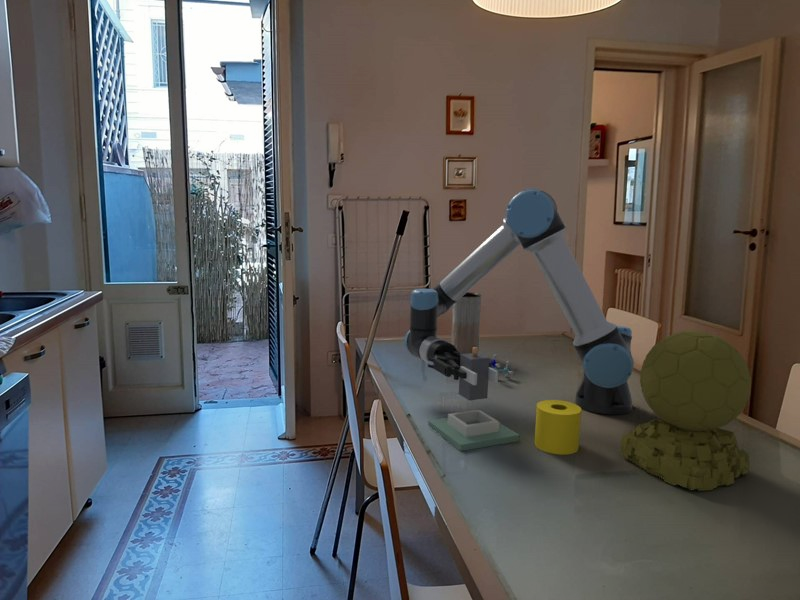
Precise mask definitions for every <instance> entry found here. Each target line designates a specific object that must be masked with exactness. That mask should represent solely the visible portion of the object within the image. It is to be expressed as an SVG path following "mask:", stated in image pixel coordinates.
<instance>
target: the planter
mask: <svg viewBox="0 0 800 600" xmlns="http://www.w3.org/2000/svg"><path fill="white" fill-rule="evenodd" d="M481 304H482V295H481V293H475V292H469V291H468V292H467V293H466V294H464V295H463V296H462V297H461V298H460V299H459V300H458V301H457V302H456V303H455V304H453V305H452V310H451V311H452V313H451V316H452V317H451V341H450V343H451V344H452V345H454V346H455V348H456V349H457V351H458V352H459V353H461V354H469V353H473V347H477V348H478V353H480V350H479V349H480V329H481V309H482V307H481V306H482V305H481Z"/></svg>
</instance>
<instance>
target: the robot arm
mask: <svg viewBox="0 0 800 600" xmlns="http://www.w3.org/2000/svg"><path fill="white" fill-rule="evenodd" d="M566 230H567V227H566V226H565V224H564V222H563V220H562V218H561V216H560V214H559V212H558V206H557V203H556V201H555V200H554V198H553V197H552V196H551V195H550V194H549V193H547V192H546V191H544V190H539V189H536V188H529V189H524V190H522V191H519V193H517V194H515V195H514V196H513V197H512V198H511V200H510V201H509V202H508V204H507V207H506V212H505V217H504V218H503V221H502V225H500V226H499V228H497V229H496V230H495V231H494V232H493V233H492V234H491V235H490V236H489V237H487V238H486V240H484V241H483V242H482V243H481V244H480V245H479V246H478V247H477V248H476V249H474V250H473V252H471V254H469V255H468V256H467V257H466V258H465V259H464V260H463V261H462V262H460V264H458V265H457V266H456V267H455V268H453V270H452V271H451V272H450V273H449V274H447V275H446V276H445V277H444V278H443V279H442V280H441V281H440V282H438V284H436V285H435V286H434V287H433V288H416V289H414V290H412V291H411V295H410V297H411V298H410V301H409V302H410V303H409V304H410V316H409V317H410V319H409V320H410V321H409V324H410V325H409V330H408V331H407V332H406V334H405V336H404V338H403V345H404V348H405V350H407V352H408V353H410V354H411V355H412V356H413V357H415V358H418V359H420V360H422V361H423V362H425V363H427V368H430V369H433V370H434V371H436V372H438V373H440V374H442V375H443V376H445V377H447V378H451V377H452V376H453V380H455V381H457V380H458V381H459V377H460V378H462V379H463V380H465V381H467V382H469V383H471V384H472V385H477V373H475V372H473V371H471V370H469V369H467V368H465V367H463V366H460V355H461V353H459V352H458V351H457V349H456V348H455V346H454V345H452V344H451V342H448V341H446V340H445V339H442V338H440V337H437V332H438V331H437V330H438V318H439V317H440V316H441V315H444V314H446V313H447V312H448V311H449V310H450V309H451V308H452V307H453V304H455V303H456V302H457V301H458V300H459V299H460V298H461V297H462V296H463V295H464V294H466V293H467V292H469V291H470V290H471V289H472V288H473V287H474V286H476V285H477V284H478V283H479V282H480V281H481V280H483V279H484V278H485V277H486V276H487V275H488V274H489V273H490V272H491V271H493V270H494V269H495V268H496V267H497V266H498V265H499V264H501V262H503V261H504V260H505V259H506V258H507V257H508V256H510V255H511V254H512V253H513V252H514V251H515V250H516V249H517V248H519V246H522V248H523V250H524V251H526V252H529V253H531V254H533V256H534V258H535V260H536V262H537V264H538V266H539V268H540V270H541V272H542V274H543V275H544V278H545V279H546V282H547V283H548V285H549V287H550V289H551V291H552V293H553V296H555V297H554V298H555V299H556V300H557V303H558V305H559V306H560V308H561V311H562V313H563V314H564V316H565V318H566V320H567V322H568V324H569V326H570V328H571V330H572V332H573V333H574V336H575V337H574V340H573V342H572V344H573V347H574V348H575V351H576V353H577V355H578V357H579V358H580V360H581V363H582V369H583V376H582V380H581V382H580V383H579V385H578V387H577V391H576V394H575V400H574V404H576V405H578V406H579V407H581V410H582V409H583V410H585V411H588V412H591V413H597V414H600V415H601V414H602V415H611V416H612V415H615V416H616V415H624V414H627V413H630V412H631V411H633V399H632V394H631V391H630V386H629V383H628V380H629V379H630V377H631V375H632V373H633V370H634V366H635V365H634V363H635V362H634V358H633V355H632V350H631V346H632V345H631V344H632V340H633V335H632V329H631V328H630V327H628V326H622V325H616V323H613V322H610V321H608V320H607V318H606V317H605V314H604V313H603V310H602V309H601V307H600V305H599V304H598V303H599V302H598V301H597V299H596V297H595V296H594V294H593V291H592V290H591V288H590V286H589V284H588V281H587V280H586V277H585V276H584V274H583V272H582V270H581V269H580V266H579V265H578V262H577V261H576V259H575V256H574V254H573V252H572V250H571V249H570V247H569V245H568V243H567V241H566V239H565V234H566ZM491 362H492V361H491ZM491 362H490V361H489V375H488V381H491V382H493V383H494V384H495V383H496V384H497V383H498V382H499V380H498V379H499V371H496V370H494V369H492V368H493V367H492V365H491Z"/></svg>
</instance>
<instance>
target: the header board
mask: <svg viewBox="0 0 800 600" xmlns="http://www.w3.org/2000/svg"><path fill="white" fill-rule="evenodd" d="M427 425H428V426H430V427H431V428H432V429H433V430H435V431H436V432H437V433H439V434H440V435H441V436H442V437H441V436H440V435H439V434H438V435H439V436H440V437H441V438H443V437H444V438H445V439H446V440H447V441H446V440H445V439H444V438H443V439H444V440H445V441H446V442H448V441H449V442H450V443H451V444H450V443H449V442H448V443H449V444H450V445H452V446H453V445H454V446H455V449H457V450H458V451H459V450H460V451H459V452H463V450H464V451H469V450H474V449H480V448H485V447H486V448H487V447H492V446H496V445H503V444H508V443H514V442H519V441H520V434H518V433H517V432H515V431H513V430H512V429H510V427H508V426H506V425H504V424H502V423H501V422H499V421H498V420H497V419H496V418H494V417H492V416H491V415H489V414H487V413H486V412H484V411H482V410H480V409H473V410H466V411H459V412H453V413H452V412H451V413H447V417H444V418H443V417H442V418H438V419H431V420H428V422H427ZM430 427H429V428H430ZM431 428H430V429H431ZM432 429H431V430H432ZM433 430H432V431H433ZM435 431H434V432H435ZM436 432H435V433H436ZM437 433H436V434H437ZM454 446H453V447H454Z"/></svg>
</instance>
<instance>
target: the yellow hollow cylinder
mask: <svg viewBox="0 0 800 600" xmlns="http://www.w3.org/2000/svg"><path fill="white" fill-rule="evenodd" d="M535 416H536V417H535V430H534V441H533V442H534V443H533V444H534V446H535V447H536V448H537V449H539V450H541V451H543V452H545V453H549V454H552V455H572V454H575V453H577V452H578V451H579V447H580V436H581V435H580V433H581V423H582V421H581V420H582V408H581V407H579V406H578V405H576V403H575V402H574V403H573V402H571V401H567V400H561V399H545V400H542V401H539V402H537V403H536V413H535Z"/></svg>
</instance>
